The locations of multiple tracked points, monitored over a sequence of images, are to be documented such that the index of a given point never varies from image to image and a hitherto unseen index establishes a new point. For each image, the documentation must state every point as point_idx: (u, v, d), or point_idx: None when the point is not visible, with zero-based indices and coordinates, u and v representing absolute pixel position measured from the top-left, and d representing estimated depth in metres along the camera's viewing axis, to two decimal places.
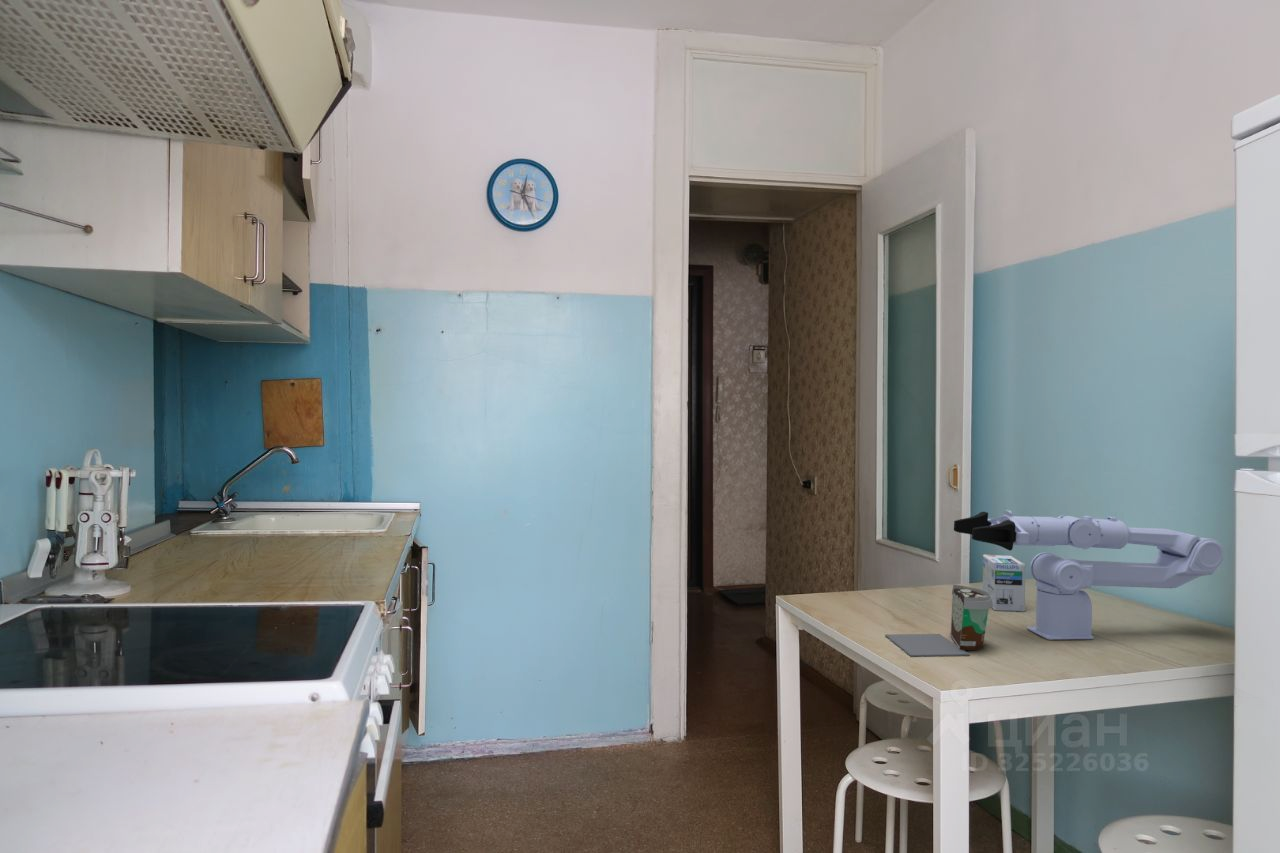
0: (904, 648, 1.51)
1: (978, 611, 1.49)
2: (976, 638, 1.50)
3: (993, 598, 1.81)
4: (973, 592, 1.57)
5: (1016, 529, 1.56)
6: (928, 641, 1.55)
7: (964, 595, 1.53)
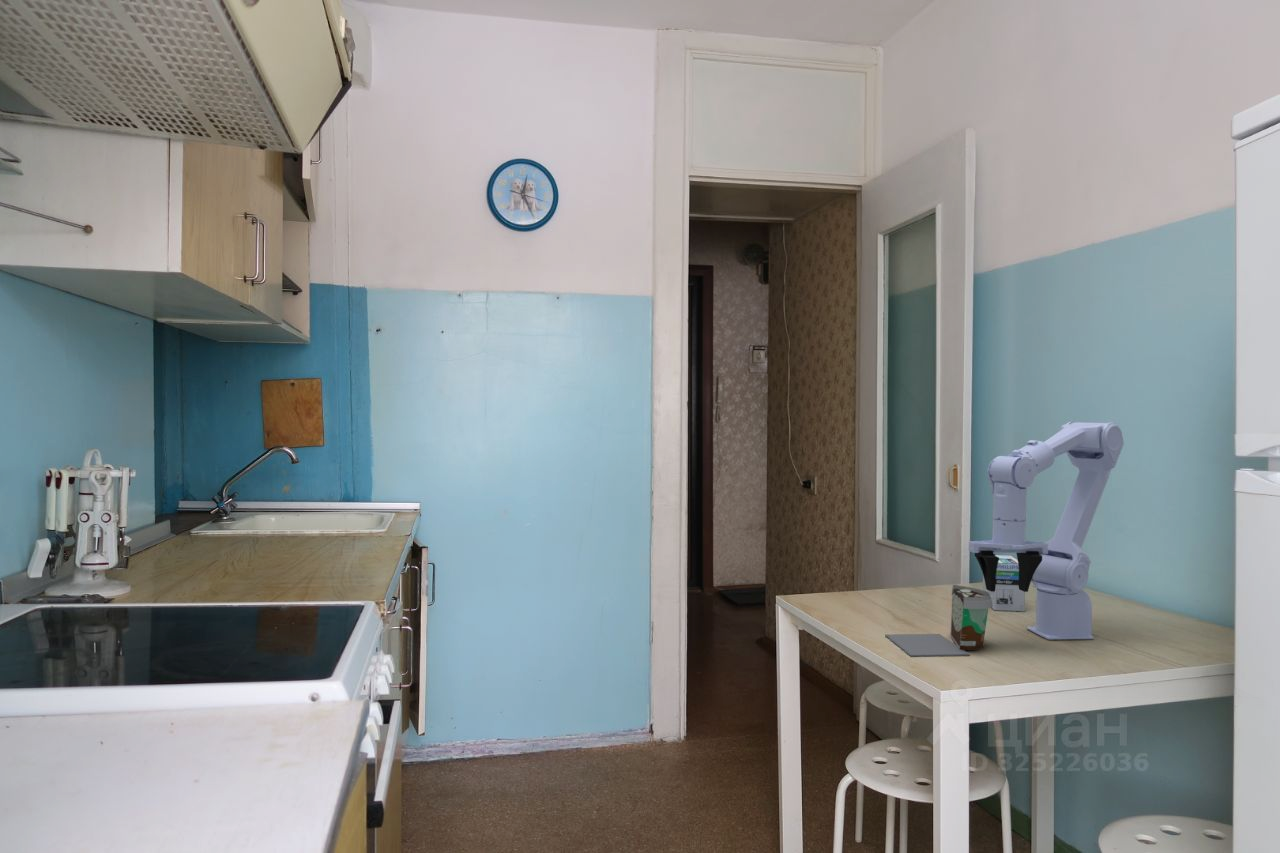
0: (904, 648, 1.51)
1: (978, 611, 1.50)
2: (976, 638, 1.50)
3: (993, 598, 1.81)
4: (973, 592, 1.57)
5: (1033, 547, 1.53)
6: (928, 641, 1.55)
7: (964, 595, 1.54)
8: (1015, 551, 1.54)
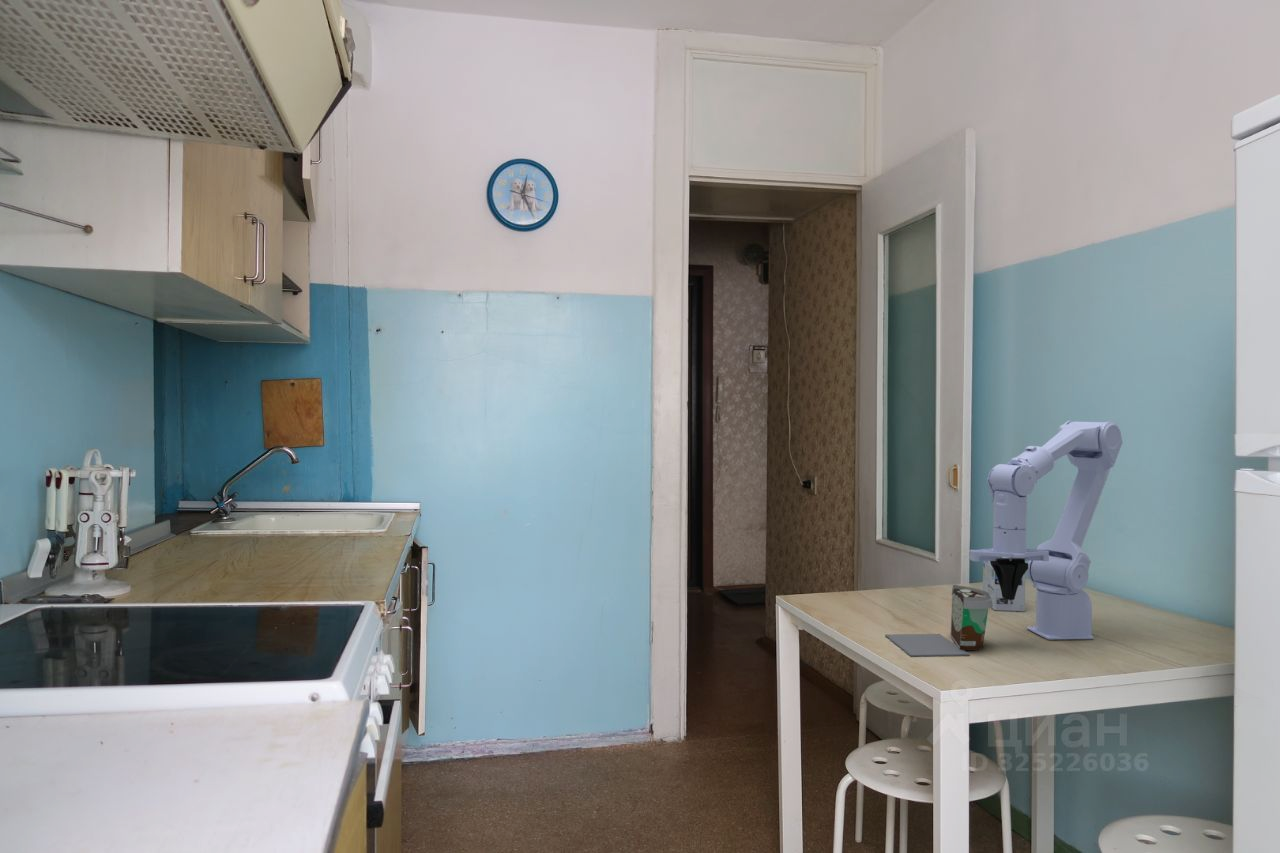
0: (904, 648, 1.51)
1: (978, 611, 1.50)
2: (976, 638, 1.50)
3: (993, 598, 1.81)
4: (973, 592, 1.57)
5: (1033, 555, 1.53)
6: (928, 641, 1.55)
7: (964, 595, 1.54)
8: None
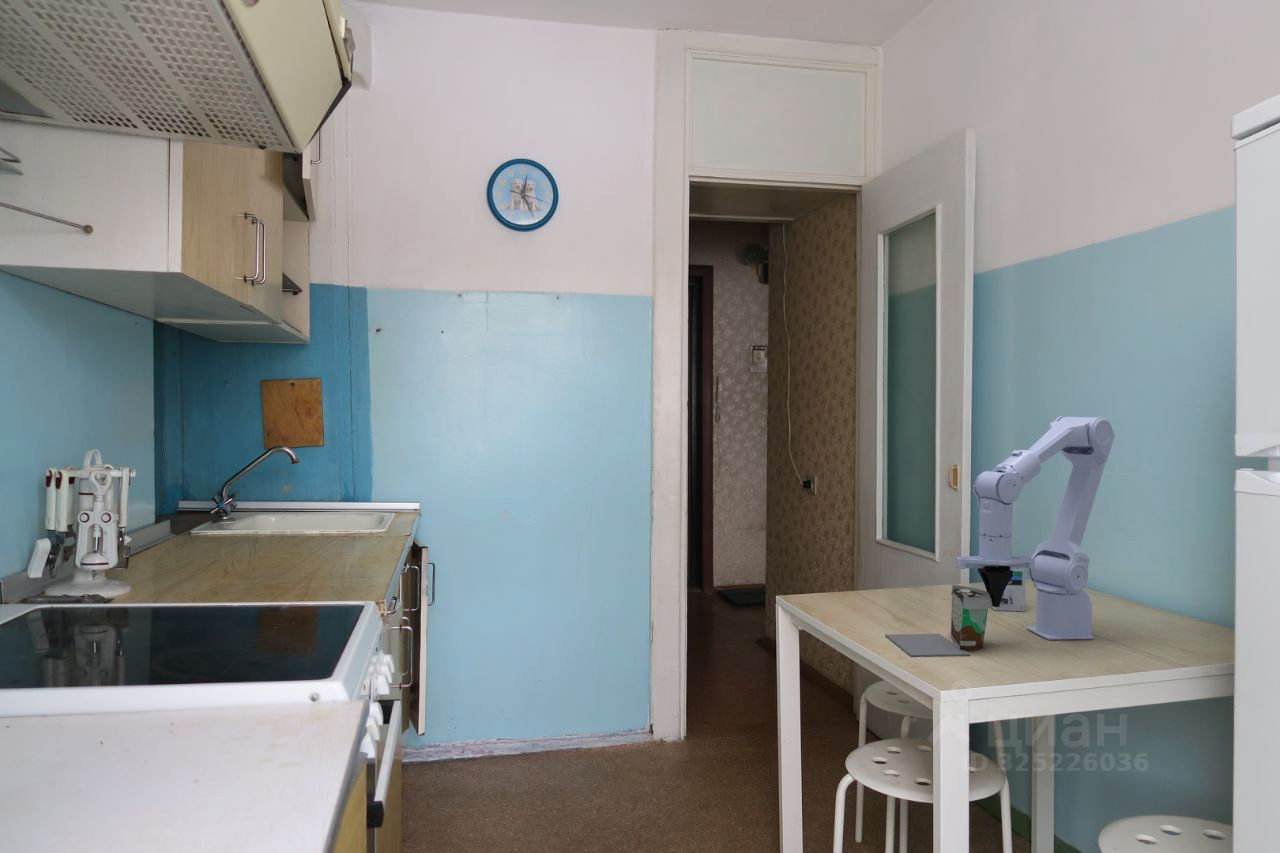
0: (904, 648, 1.51)
1: (977, 611, 1.50)
2: (976, 638, 1.50)
3: None
4: (972, 592, 1.57)
5: None
6: (928, 641, 1.55)
7: (963, 595, 1.54)
8: None
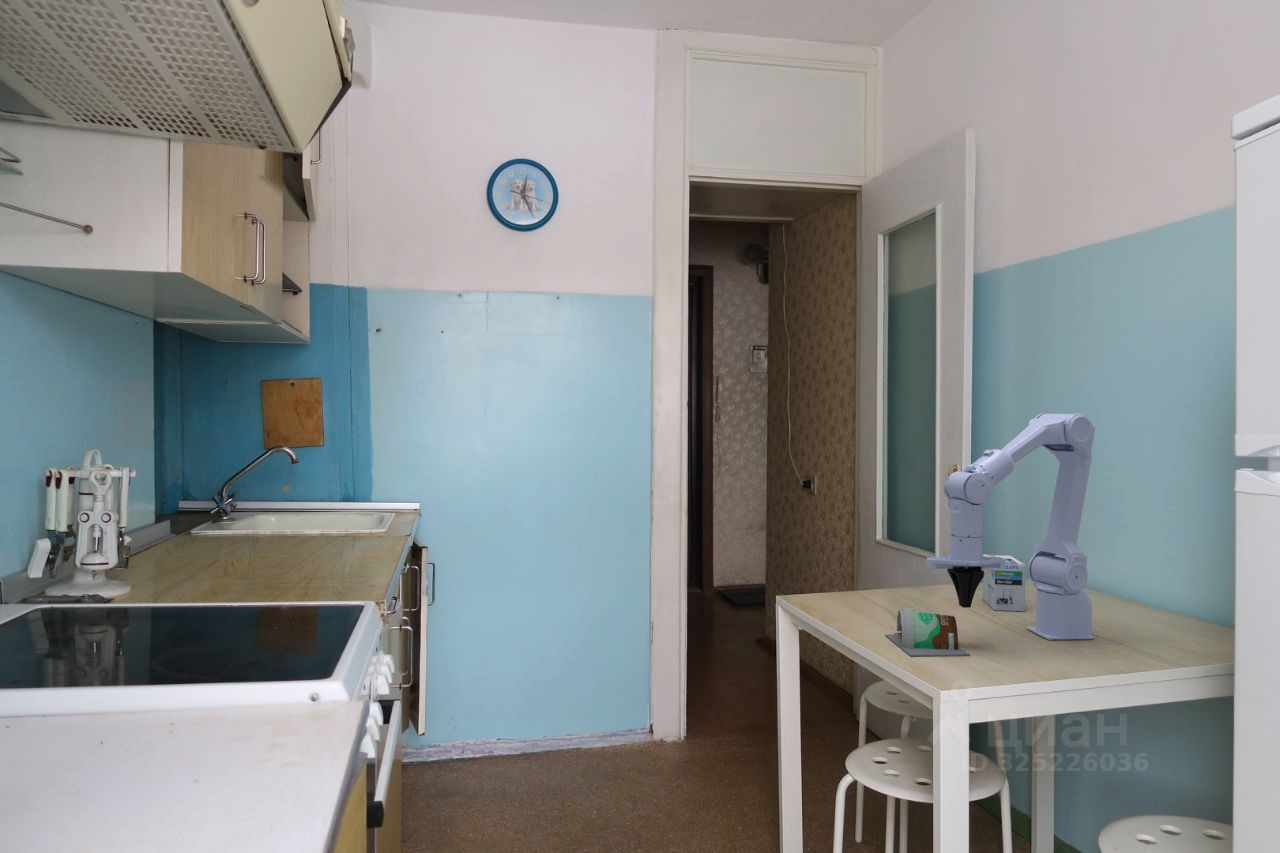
0: (904, 648, 1.51)
1: (916, 632, 1.52)
2: (945, 631, 1.51)
3: (993, 598, 1.81)
4: None
5: (990, 563, 1.53)
6: None
7: None
8: None
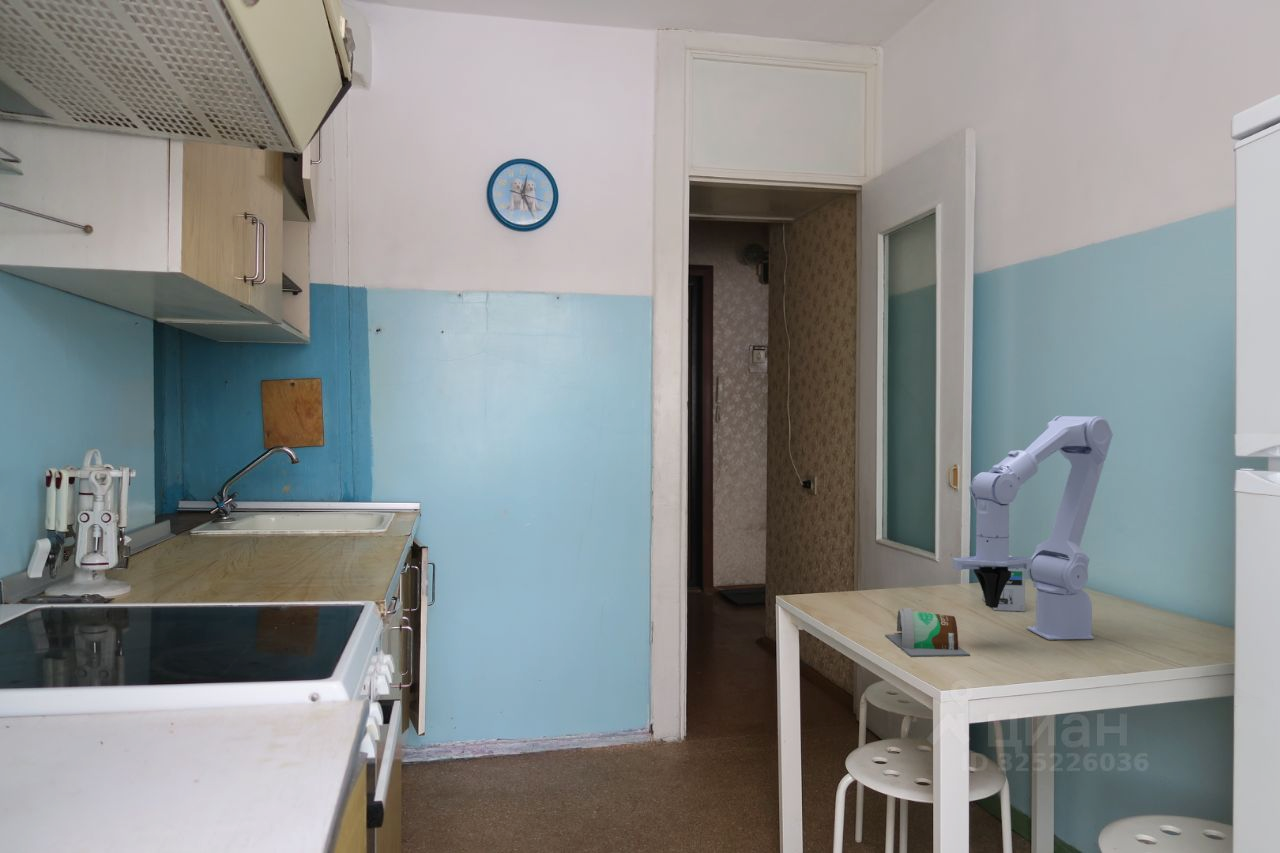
0: (904, 648, 1.51)
1: (916, 632, 1.52)
2: (945, 631, 1.51)
3: None
4: None
5: (1016, 563, 1.53)
6: None
7: None
8: None
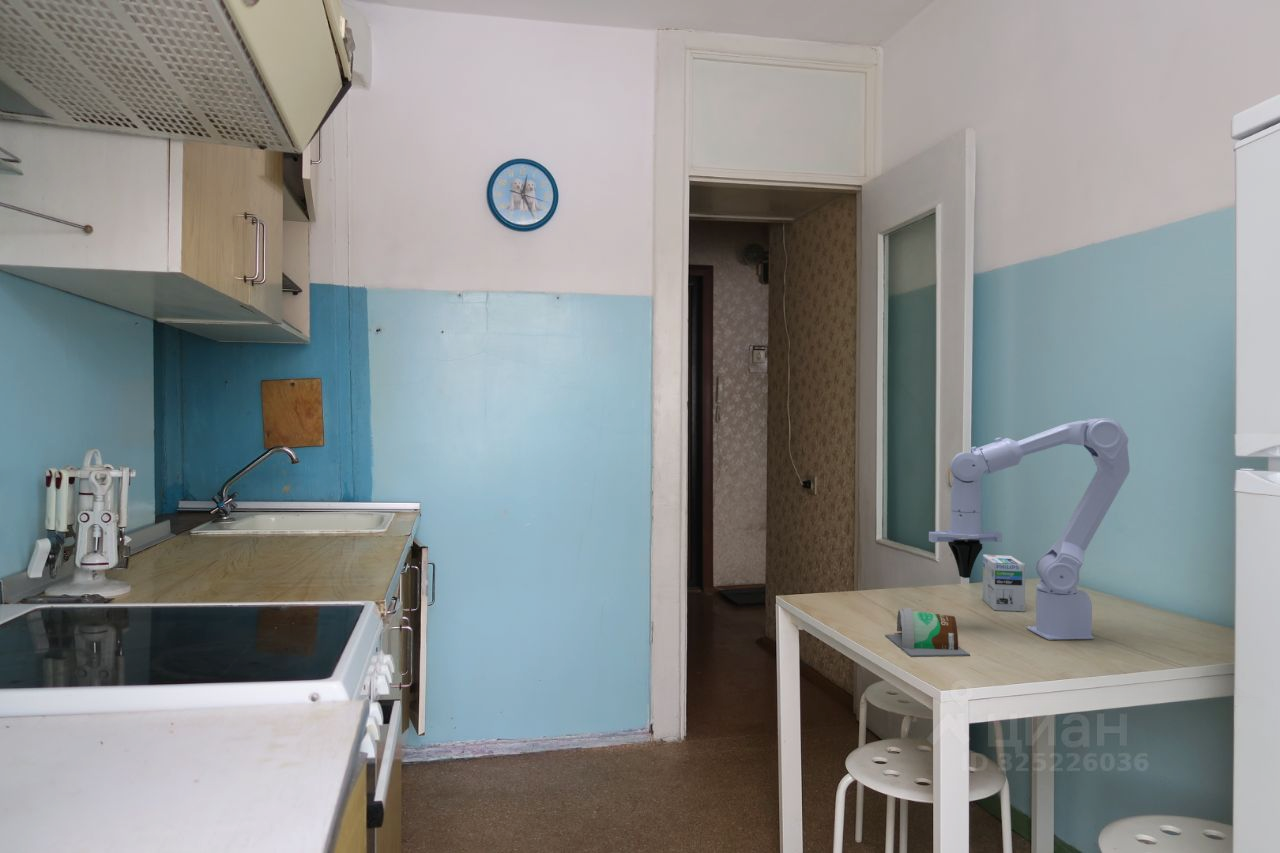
0: (904, 648, 1.51)
1: (916, 632, 1.52)
2: (945, 631, 1.51)
3: (993, 598, 1.81)
4: None
5: (987, 536, 1.65)
6: None
7: None
8: None
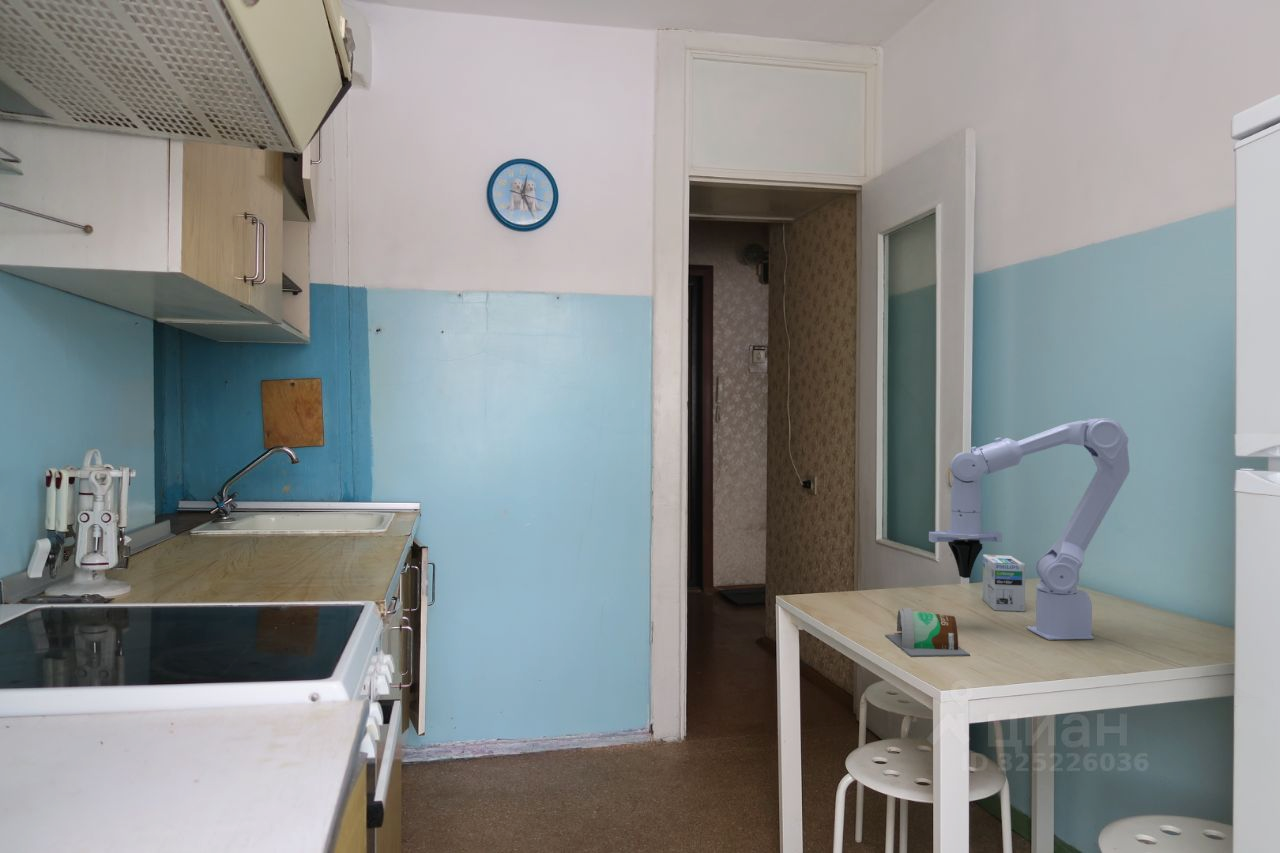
0: (904, 648, 1.51)
1: (916, 632, 1.52)
2: (945, 631, 1.51)
3: (993, 598, 1.81)
4: None
5: (987, 536, 1.65)
6: None
7: None
8: None
